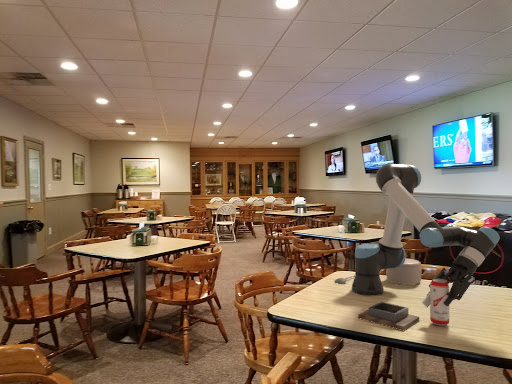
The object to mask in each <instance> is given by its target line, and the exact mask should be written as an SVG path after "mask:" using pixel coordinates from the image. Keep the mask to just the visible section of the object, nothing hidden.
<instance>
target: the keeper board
mask: <svg viewBox="0 0 512 384" xmlns="http://www.w3.org/2000/svg"><path fill="white" fill-rule="evenodd" d="M383 311H384V310H383ZM387 312H388V311H387ZM391 313H393V312H391ZM357 318H358V319H360V318H361V320H363V319H365V320H364V321H367V320H368V322H371V321H372V322H371V323H374V322H375V323H374V324H378V323H379V324H378V325H381V324H383V325H382V326H385V325H387V326H386V327H389V326H390V327H389V328H392V327H394V329H396V328H397V330H399V329H401V330H400V331H403V330H404V331H406V330H407V329H409V328H410V327H412V326H414V325H415V324H417V323H418V322H419V321H420V316H417V315H414V314H413V315H412V314H409V313H408V316H407V317H405V318H403V319H402V320H400V321H398V322H397V323H395V322H391V321H387V320H383V319H380V318H376V317H372V316H368V309H366V310H364V311H362V312H360V313H358V314H357ZM413 324H414V325H413ZM408 327H409V328H408ZM405 329H406V330H405Z"/></svg>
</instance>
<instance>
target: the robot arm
mask: <svg viewBox="0 0 512 384" xmlns="http://www.w3.org/2000/svg"><path fill="white" fill-rule="evenodd" d="M375 182H376V184H377V187H378V189H379V190H380V191H381V192H382V193H383V194H384V195H387V196H388V197H389V201H388V207H387V210H386V212H387V213H386V217H385V223H384V229H383V234H382V235H383V236H382V238H380V239H379V240H378V243H363V244H358V245H357V246H356V247H355V252H354V269H355V270H354V271H355V274H354V276H355V277H353V282H352V283H351V284H352V285H351V291H352V292H353V293H355V294H357V295H361V296H382V295H383V294H384V285H383V284H382V280H381V277H380V274H381V273H380V270H386V269H389V268H391V269H392V268H396V267H400V266H401V265H403V263H404V262H405V259H407V253H406V250H405V248H404V244H403V243H402V241H401V240H402V235H403V230H404V225H405V219H406V218H407V219H408V221H409V222H410V223H411V224H412V225H413V226H414V227H415V229H417V231H418V232H419V239H420V243H421V244H422V245H424V246H425V247H428V248H439V247H450V246H461V247H463V249H462V250H461V251H460V252H459V253H458V255H457V257H456V258H455V259H454V260H453V262H452V266H451V267H450V268H448V269H446V268H445V267H443V268H441V271H440V272H439V274H438V275H436V277H435V278H434V279H444V280H447V283H448V285H449V284H451V283H452V285H451V287H450V288H449V293H447V294H448V295H449V296H448V295H445V296H444V297H443V299H442V300H441V301H440V302H439V304H438V305H437V306H436V308H435V309H436V310H437V311H438V312H439V313H440V314H441V313H442V312H443V311H444V309H445V308H446V307H447V306H449V307H450V305H451V304H452V302H453V301H455V300H457V301H460V300H461V299H462V298H463V297H464V295H465V294H466V292H467V290H469V289H468V288H470V287H471V285H472V284H473V283H474V282H475V278H474V277H473V275H474V273H476V271H477V270H478V267H480V266H481V265H482V264H483V262H484V260H485V259H486V258H487V256H488V255H490V253H491V252H492V251H493V249H494V248H495V247H496V246H497V244H498V242H499V241H500V239H501V237H500V235H499V233H498V232H497V231H496V229H493V228H491V227H488V226H481V227H480V228H478V229H477V230H475V229H469V228H467V227H464V226H459V225H457V224H452V223H448V224H446V225H444V226H441V225H439V223H438V222H437V221H436V220H435V219H434V218H433V217H432V216H431V215H430V214H429V212H427V210H426V209H425V208H424V207H423V206H422V205H421V204H420V202H418V201H417V200H416V198H415V197H414V196H413V194H414V190H415V189H416V188H418V186H420V184H421V182H422V174H421V171H420V170H419V168H417V167H416V165H415V166H414V165H413V164H412V165H411V164H406V163H405V164H402V163H401V164H400V163H399V164H398V163H397V164H396V163H395V164H394V163H387V164H385V165H384V164H383V165H382V166H381V167H379V169H378V170H377V171H376V175H375ZM428 287H429V288H430V284H428ZM421 303H422V304H423V305H424V306H425V308H428V307H429V308H430V291H429V292H428V293H427V294H426V297H425V298H424V299H423V300H422V301H421Z"/></svg>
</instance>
